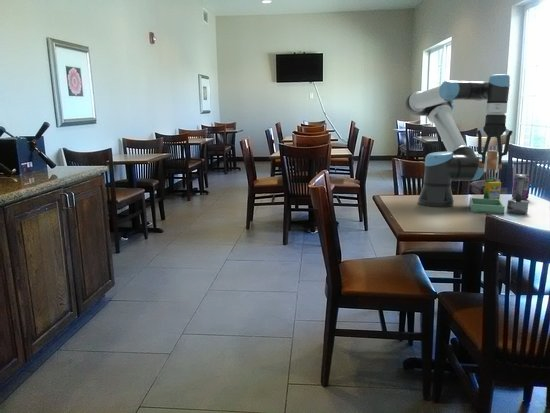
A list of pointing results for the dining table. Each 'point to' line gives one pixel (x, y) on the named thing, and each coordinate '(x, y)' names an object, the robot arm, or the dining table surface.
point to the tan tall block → (490, 161)
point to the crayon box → (492, 189)
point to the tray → (486, 205)
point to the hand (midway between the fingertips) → (490, 171)
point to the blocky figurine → (518, 200)
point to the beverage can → (525, 186)
